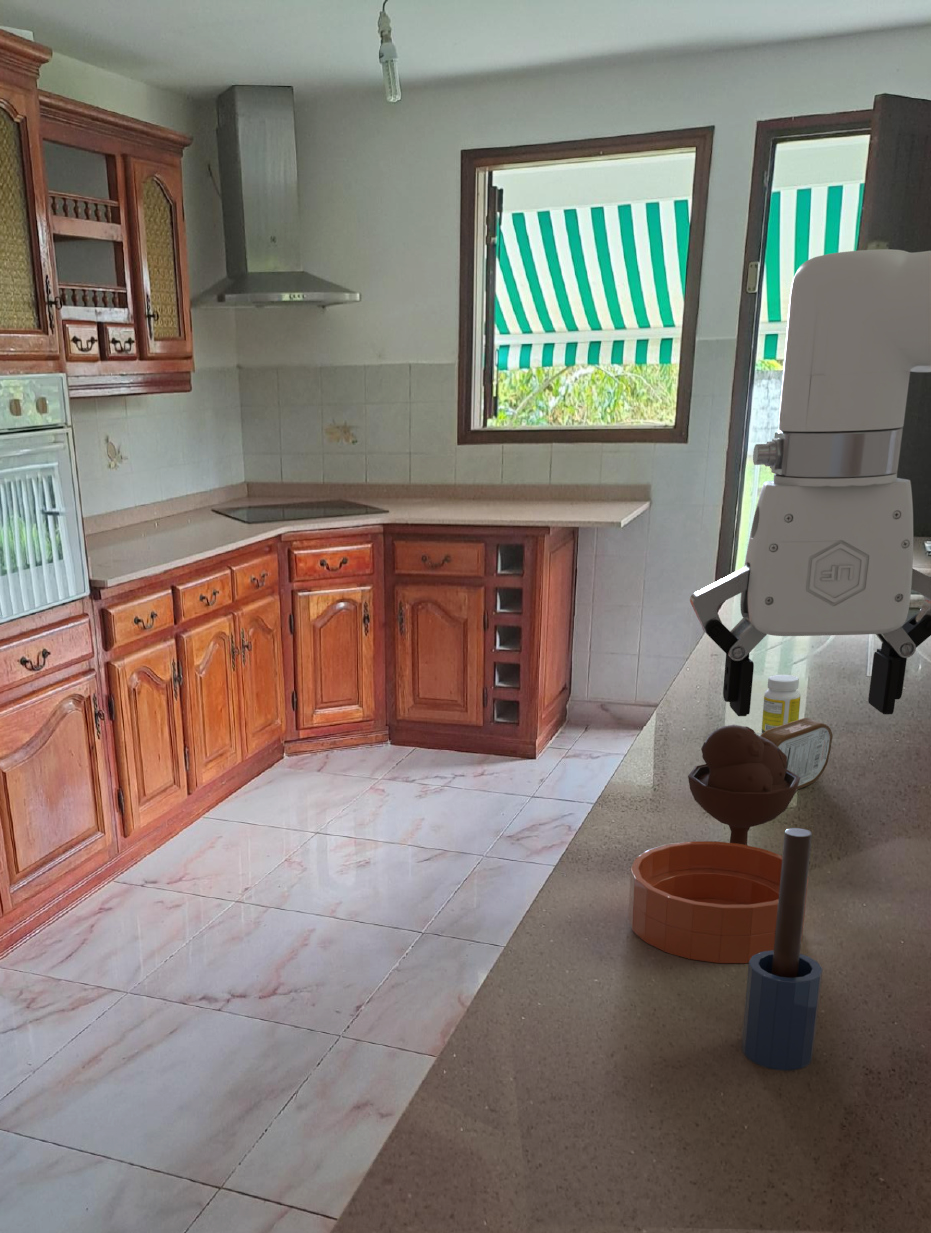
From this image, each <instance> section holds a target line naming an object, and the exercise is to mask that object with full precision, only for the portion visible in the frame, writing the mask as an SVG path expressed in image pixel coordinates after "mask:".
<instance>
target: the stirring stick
mask: <svg viewBox="0 0 931 1233" xmlns="http://www.w3.org/2000/svg"><path fill="white" fill-rule="evenodd" d="M812 837H813V833H812V832H811V831H810V830H808V829H805V828H800V827H791V828H786V830H785V831H784V836H783V845H782V846H783V847H782V855H781V856H782V866H781V877H780V887H779V898H778V909H777V919H776V930H775V941H774V951H773V962H772V973H771V974H773V975H777V976H780V977H789V978H795V977H797V976H798V966H799V956H800V954H801V947H802V942H801V937H802V938H803V936H802V927H803V917H804V908H805V898H806V888H807V878H808V879H809V868H810V867H809V866H810V858H811V850H812V849H811V847H812V839H813V838H812ZM807 889H808V888H807ZM806 899H807V898H806ZM805 909H806V908H805ZM804 918H805V917H804ZM803 928H804V927H803Z"/></svg>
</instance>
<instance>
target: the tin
mask: <svg viewBox="0 0 931 1233" xmlns="http://www.w3.org/2000/svg"><path fill="white" fill-rule="evenodd" d="M759 736H761V737H763V738H765V739H767V740H769V741H771V742H773V743H774V744H775V745H776V746H777V747H778V748H779V749H780V750H781V751H782V752H783V753H784V754H785V755H786V756H787V769H788V770H789V771H791V772H792V773H794V774H796V775H797V776H799V777H801V778H800V781H799V784H798V787H797V790H796V791H798V790H801V789H802V788H805V787H808V786H810V785H812V784H814V783H815V782H816V781H818V779H819V778H820V777H821V775H822V774H823V773H824V771H825V770H826V768H827V766H828V763H829V760H830V759H829V758H830V753H831V750H832V743H833V742H832V741H833V736H834V735H833V732H832V729H831V728H830V727H829V725H827V724H826V723H825V722H820V721H818V720H814V719H812V718H810V717H803V718H799V720H796V721H793V722H790V723H787V724H784V725H781V726H778V727H775V728H772V729H769V730H767V731H765V732H764V733H763V734H762V733H761V734H760V735H759Z"/></svg>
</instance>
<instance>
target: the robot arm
mask: <svg viewBox="0 0 931 1233" xmlns="http://www.w3.org/2000/svg"><path fill="white" fill-rule="evenodd" d="M790 286H791V287H790V292H789V293H790V294H789V304H788V313H787V324H786V325H787V327H786V337H785V348H784V356H783V357H784V359H783V369H782V370H783V371H782V381H781V391H780V403H779V412H778V413H779V414H778V415H779V416H778V427H777V432H774V435H773V436H774V437H773V438H772V440H771V441H766V443H755V445H754V447H753V451H752V452H753V453H752V462H753V465H754V466H763V465H764V466H765V467H769V469H771V470H770V471H771V473H773V480H767V481H764V482H763V484H762V487H761V490H760V493H759V496H758V500H757V503H756V508H755V511H754V515H753V520H752V523H751V529H750V534H749V537H748V538H749V539H748V544H747V548H746V555H745V561H744V566H743V567H742V568H740V569H738V570H736V571H734V572H732V573H731V574H728V575H727V576H725V577H723V578H720V579H718V580H717V581H714V582H713V583H711V584H709V585H707V586H705V587H703V588H701V589H700V590H697V591H695V592H694V593H692V594H691V595H690V597H689V602H690V604H691V607H692V609H693V611H694V613H695V615H696V618H697V620H698V621H699V624H700V626H701V629H702V631H703V632H704V633H705V634H706V635H707V636H708V637H709V638H710V639H711V640H712V642H714V643H715V644H716V646H718V647H719V649H721V651H723V652H724V653H725V660H724V661H725V663H724V675H723V688H722V696H723V698H722V699H723V700H724V702H725V703H729V707H730V708H731V710H732V711H733V712H734V713H735V714H736V716H737V717H747V715H750V714H751V703H752V690H753V682H754V681H753V680H754V679H753V678H754V671H755V670H754V668H755V664H754V661H753V660H752V659H750V653H751V652H752V651H753V650H754V649H755V648H756V647H757V646H758V645H759V643H761V642H762V641H763V640H764V639H765V637H766V636H767V635H769V636H774V637H818V636H820V637H821V636H861V635H875V636H876V637H877V639H878V640H879V641H880V642H881V648H876V651H874V653H873V658H872V659H873V660H872V667H871V675H870V681H869V682H870V683H869V690H868V704H869V705H870V706H872V707H873V708H874V709H875V710H876V711H878V712H879V713H881V714H883V715H893V714H894V711H895V704H896V700H900V699H901V698H902V695H903V690H904V682H905V674H906V668H907V660H908V659H909V658H910V657H912V656H914V655H915V653H916V650H917V648H919V646H920V645H921V644H922V643H924V642H925V641H926V640H927V639H929V638H930V637H931V576H929V575H928V574H925V573H923V572H921V571H919V570H917V569H915V568H913V567H914V566H913V563H914V505H913V492H912V491H913V490H912V482H911V480H910V479H906V478H901V477H898V471H899V462H900V454H901V447H902V439H903V438H902V437H903V432H904V431H903V430H904V429H903V428H904V425H905V416H906V409H907V400H908V392H909V385H910V384H909V383H910V377H911V372H912V373H913V372H914V373H931V250H925V251H917V252H916V251H915V252H909V251H906V250H902V249H890V248H884V249H883V248H881V249H879V248H878V249H877V248H876V249H860V250H850V251H849V250H848V251H841V252H833V253H827V254H823V255H818V256H814V257H812V258H810V259H808V260H805V261H804V262H803V263H802V264H800V266H799V267H798V269H797V270H796V272H795V274H794V275H793V278H792V282H791V285H790ZM912 591H913V592H916V593H917V594H920V595H921V596H922V597H923V598H924V602H923V604H922V606H921V608H920V610H919V611H918V612H917V613H915V614H914V615H913V616H912V617H911V618H910V619H909V620H907V619H908V615H909V610H910V605H911V604H910V603H911V594H912ZM738 595H740V599H739V600H740V602H739V603H740V604H739V605H740V606H739V607H740V615H741V617H742V618H741V619H740V620H739V621H738V622H737V623H736V625H735V626H734V627H733V628H732V629H731V630H729V629H728V628H727V626H725V624H724V623H722V620H721V617H720V615H719V612H718V607H719V605H721V604H722V603H724V602H726V601H728V600H730V599H731V598H734V597H736V596H738Z"/></svg>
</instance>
